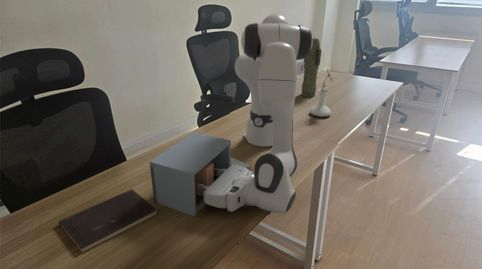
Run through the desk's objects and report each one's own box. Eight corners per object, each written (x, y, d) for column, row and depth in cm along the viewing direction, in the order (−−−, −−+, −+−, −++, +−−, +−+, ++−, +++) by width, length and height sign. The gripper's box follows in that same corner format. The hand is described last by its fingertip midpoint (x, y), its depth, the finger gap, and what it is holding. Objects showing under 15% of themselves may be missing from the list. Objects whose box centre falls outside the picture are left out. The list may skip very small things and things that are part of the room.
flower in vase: (326, 120, 172) (333, 73, 162) (306, 115, 178) (311, 70, 167) (334, 112, 182) (340, 68, 172) (314, 108, 188) (319, 65, 177)
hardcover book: (157, 215, 101) (157, 209, 100) (82, 255, 86) (80, 248, 85) (131, 194, 111) (130, 188, 110) (59, 226, 96) (58, 219, 95)
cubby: (195, 168, 126) (193, 132, 120) (230, 177, 120) (230, 140, 114) (154, 202, 106) (149, 161, 100) (194, 216, 100) (191, 173, 94)
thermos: (304, 91, 217) (310, 37, 202) (319, 95, 209) (326, 39, 195) (296, 94, 211) (301, 38, 197) (311, 98, 204) (318, 41, 189)
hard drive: (250, 165, 126) (227, 154, 134) (236, 173, 121) (212, 161, 128) (250, 169, 127) (227, 158, 135) (236, 177, 122) (213, 165, 129)
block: (202, 187, 114) (201, 159, 110) (213, 190, 112) (213, 162, 108) (195, 194, 111) (194, 165, 106) (207, 197, 109) (206, 169, 104)
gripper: (257, 165, 111) (221, 156, 116) (229, 197, 94) (188, 185, 99) (256, 181, 113) (221, 171, 119) (229, 215, 97) (189, 202, 102)
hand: (206, 178), depth 109 cm, fingers open, 8 cm apart
